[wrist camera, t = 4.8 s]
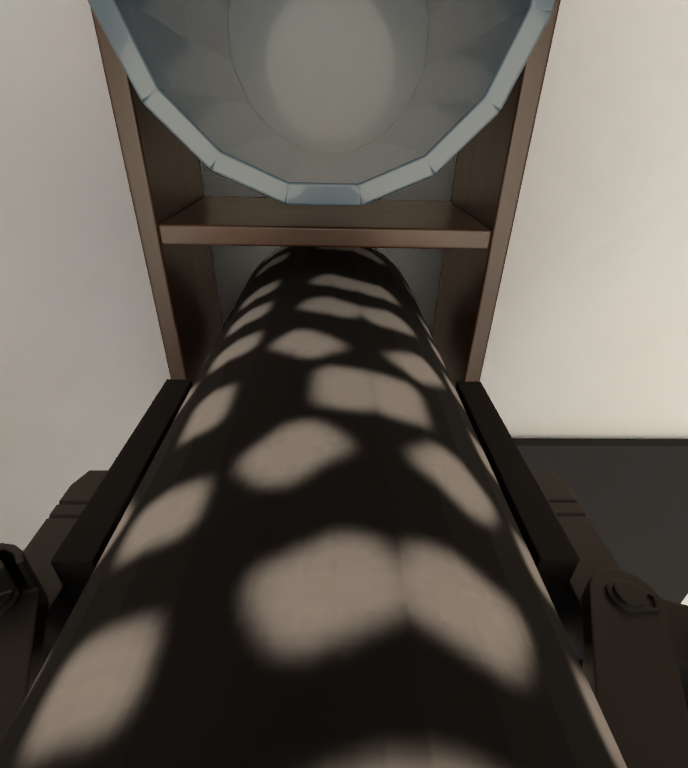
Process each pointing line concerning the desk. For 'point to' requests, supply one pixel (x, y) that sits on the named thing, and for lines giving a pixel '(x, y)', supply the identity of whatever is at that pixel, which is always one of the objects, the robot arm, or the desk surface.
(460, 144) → the cup
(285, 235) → the caddy
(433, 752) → the white-spotted black cylinder
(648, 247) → the desk surface
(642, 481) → the desk mat
